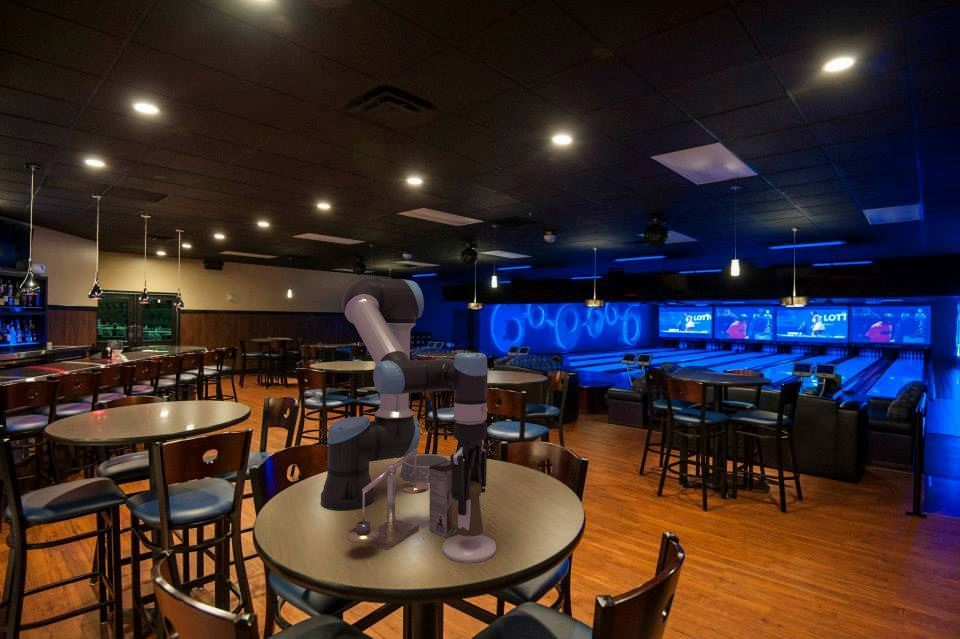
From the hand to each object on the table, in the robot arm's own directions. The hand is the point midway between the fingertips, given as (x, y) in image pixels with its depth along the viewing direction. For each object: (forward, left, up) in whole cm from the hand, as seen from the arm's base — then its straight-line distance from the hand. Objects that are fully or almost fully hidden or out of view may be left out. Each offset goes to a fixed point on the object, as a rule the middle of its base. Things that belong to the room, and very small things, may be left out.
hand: (469, 524), depth 112 cm
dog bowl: (-41, +42, -6) cm, 59 cm away
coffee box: (-10, +8, -6) cm, 14 cm away
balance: (-20, -3, -6) cm, 21 cm away
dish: (0, 0, -6) cm, 6 cm away
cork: (0, 0, -2) cm, 2 cm away
